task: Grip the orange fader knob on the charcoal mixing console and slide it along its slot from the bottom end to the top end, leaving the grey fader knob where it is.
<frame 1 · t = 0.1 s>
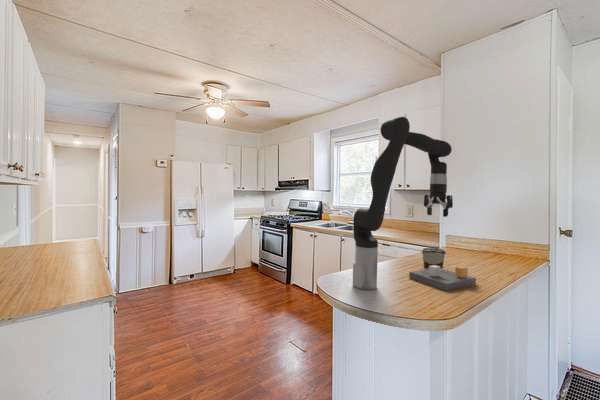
hand: (437, 215, 138), 29 cm above the counter, tool pointing down, fingers open, 8 cm apart
grey fader: (434, 270, 124), point 5 cm above the counter, slide at 0.0 cm
console: (441, 281, 127), on the counter
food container: (431, 267, 152), on the counter
orange fader: (461, 271, 124), point 5 cm above the counter, slide at -6.0 cm
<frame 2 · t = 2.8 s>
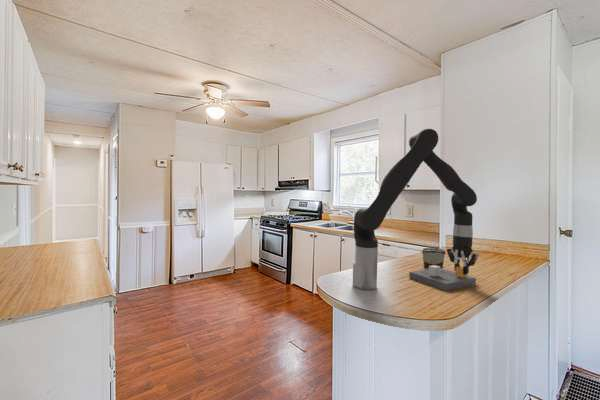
hand: (461, 273, 124), 5 cm above the counter, tool pointing down, fingers closed on orange fader, 3 cm apart
orange fader: (461, 271, 124), point 5 cm above the counter, slide at -6.0 cm, touching gripper
everything else where it was.
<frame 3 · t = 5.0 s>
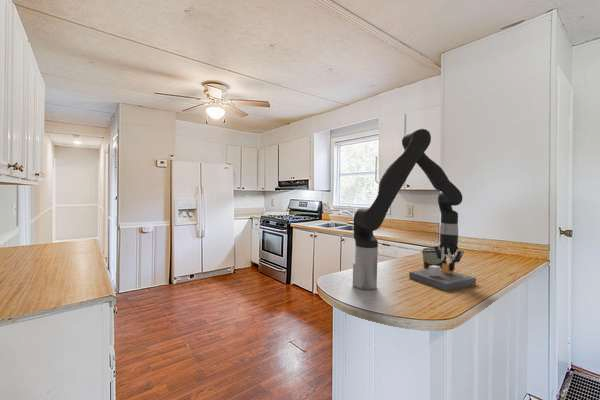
hand: (447, 269, 129), 5 cm above the counter, tool pointing down, fingers closed on orange fader, 3 cm apart
orange fader: (447, 268, 129), point 5 cm above the counter, slide at 0.5 cm, touching gripper
everything else where it was.
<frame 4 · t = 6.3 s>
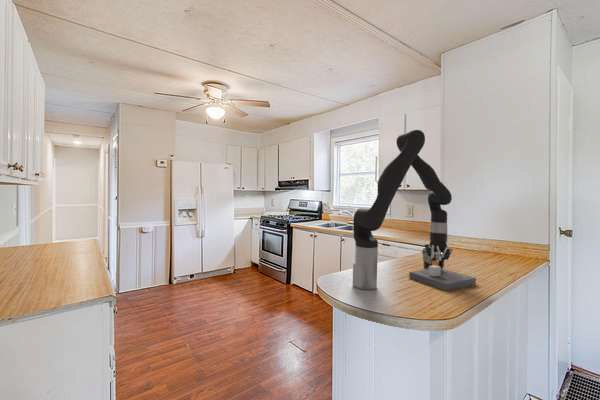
hand: (437, 266, 134), 5 cm above the counter, tool pointing down, fingers closed on orange fader, 3 cm apart
orange fader: (437, 265, 134), point 5 cm above the counter, slide at 5.9 cm, touching gripper
everything else where it was.
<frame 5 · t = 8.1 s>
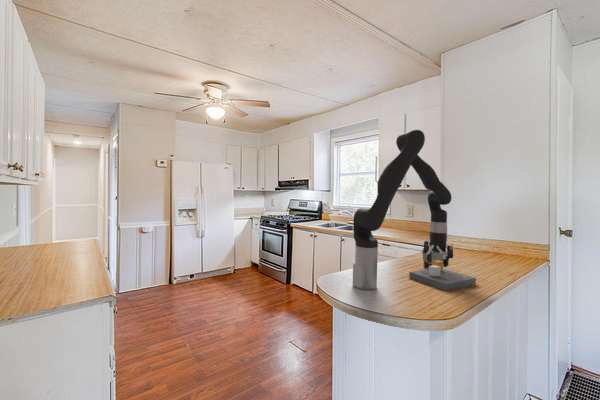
hand: (437, 264, 134), 6 cm above the counter, tool pointing down, fingers open, 8 cm apart
orange fader: (437, 265, 134), point 5 cm above the counter, slide at 6.0 cm
everything else where it was.
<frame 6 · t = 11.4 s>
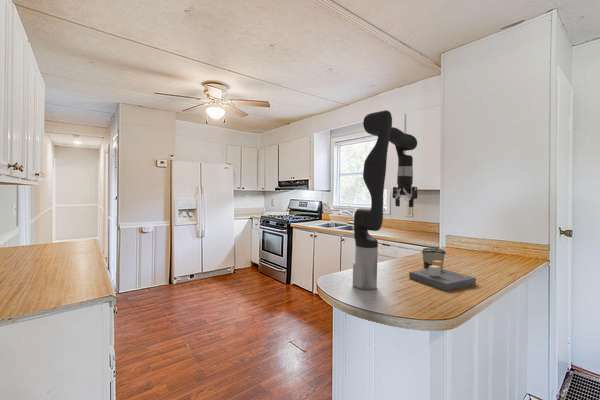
hand: (404, 206, 144), 33 cm above the counter, tool pointing down, fingers open, 8 cm apart
nothing on the counter moved.
at the end: orange fader slide at 6.0 cm; grey fader slide at 0.0 cm; the gripper is holding nothing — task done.
